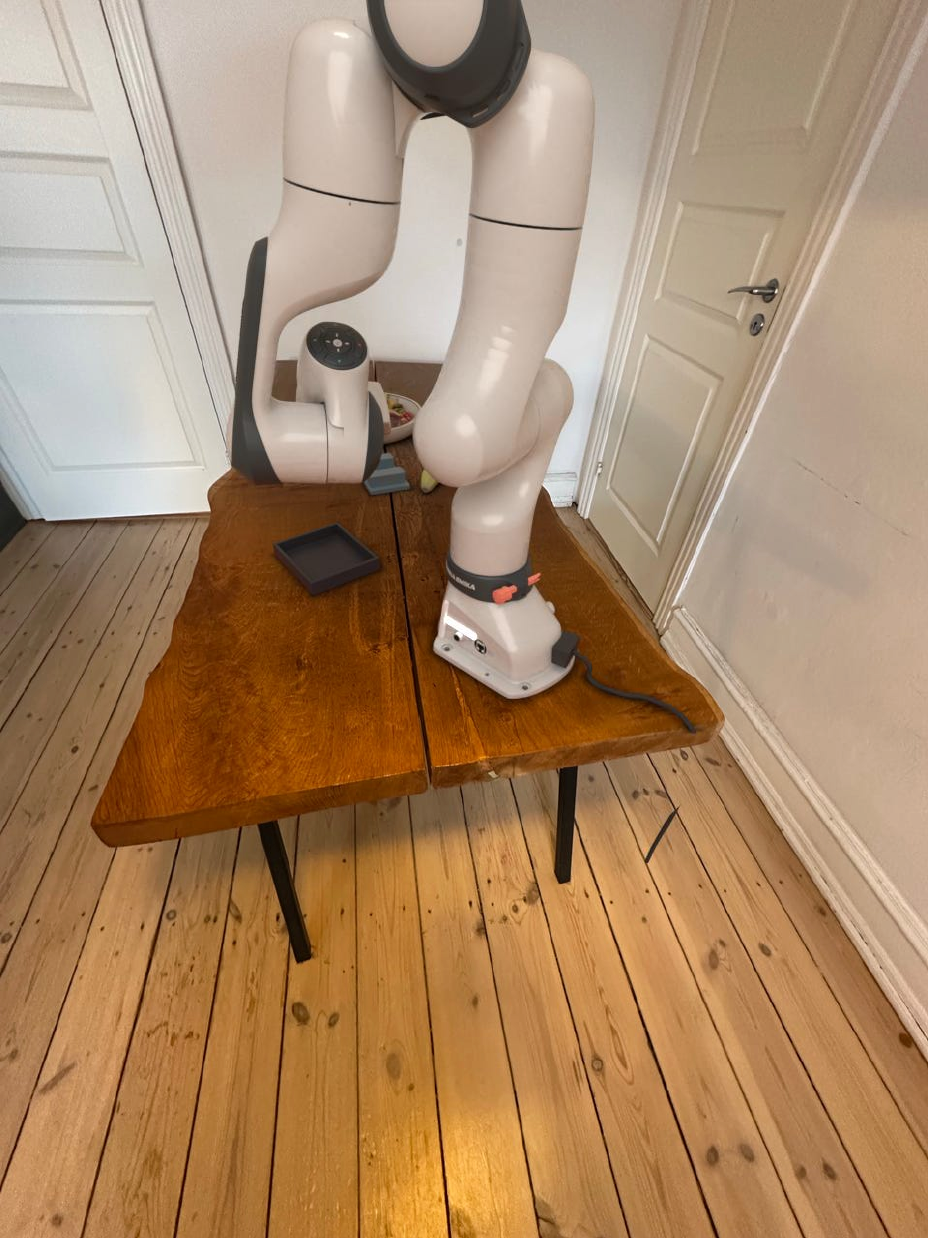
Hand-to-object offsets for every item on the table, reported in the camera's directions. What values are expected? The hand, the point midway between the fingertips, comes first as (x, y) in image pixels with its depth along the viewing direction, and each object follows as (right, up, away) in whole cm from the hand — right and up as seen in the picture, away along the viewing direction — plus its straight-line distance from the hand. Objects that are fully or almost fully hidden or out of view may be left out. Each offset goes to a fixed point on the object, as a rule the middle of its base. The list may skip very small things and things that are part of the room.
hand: (322, 448), depth 91 cm
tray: (-1, -18, +9) cm, 20 cm away
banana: (+24, +3, +35) cm, 43 cm away
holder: (+5, +4, +35) cm, 35 cm away
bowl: (-3, +23, +58) cm, 62 cm away
